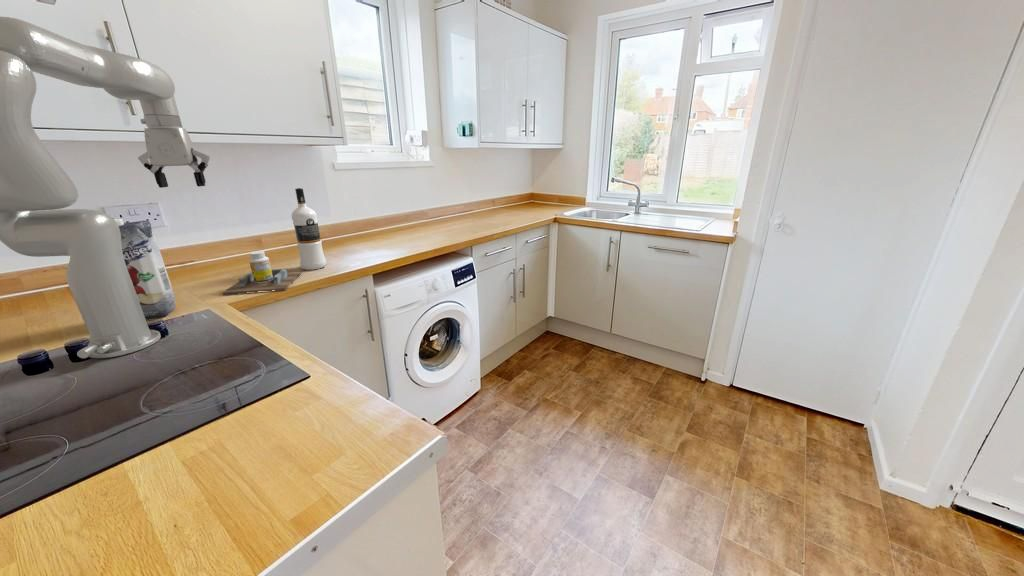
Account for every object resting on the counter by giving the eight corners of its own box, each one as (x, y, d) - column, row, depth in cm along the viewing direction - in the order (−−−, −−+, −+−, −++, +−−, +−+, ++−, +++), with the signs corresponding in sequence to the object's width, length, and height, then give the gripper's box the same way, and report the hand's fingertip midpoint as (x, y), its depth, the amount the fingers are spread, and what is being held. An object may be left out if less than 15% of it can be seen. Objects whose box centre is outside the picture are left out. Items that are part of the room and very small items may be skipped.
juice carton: (137, 312, 110) (102, 217, 101) (181, 306, 114) (151, 214, 105) (120, 324, 103) (80, 222, 94) (168, 318, 106) (135, 219, 97)
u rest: (285, 290, 126) (282, 280, 125) (223, 295, 122) (220, 284, 121) (301, 274, 142) (300, 265, 141) (247, 278, 139) (245, 268, 138)
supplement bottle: (257, 280, 133) (250, 251, 130) (275, 278, 135) (268, 249, 132) (252, 285, 128) (244, 255, 125) (271, 283, 130) (264, 253, 127)
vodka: (322, 262, 157) (308, 186, 147) (330, 267, 151) (316, 188, 141) (297, 267, 151) (281, 188, 141) (305, 272, 145) (288, 190, 135)
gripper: (118, 122, 103) (139, 188, 108) (191, 122, 106) (209, 186, 111) (137, 124, 109) (157, 186, 115) (206, 124, 113) (222, 184, 118)
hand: (182, 186), depth 113 cm, fingers open, 9 cm apart
